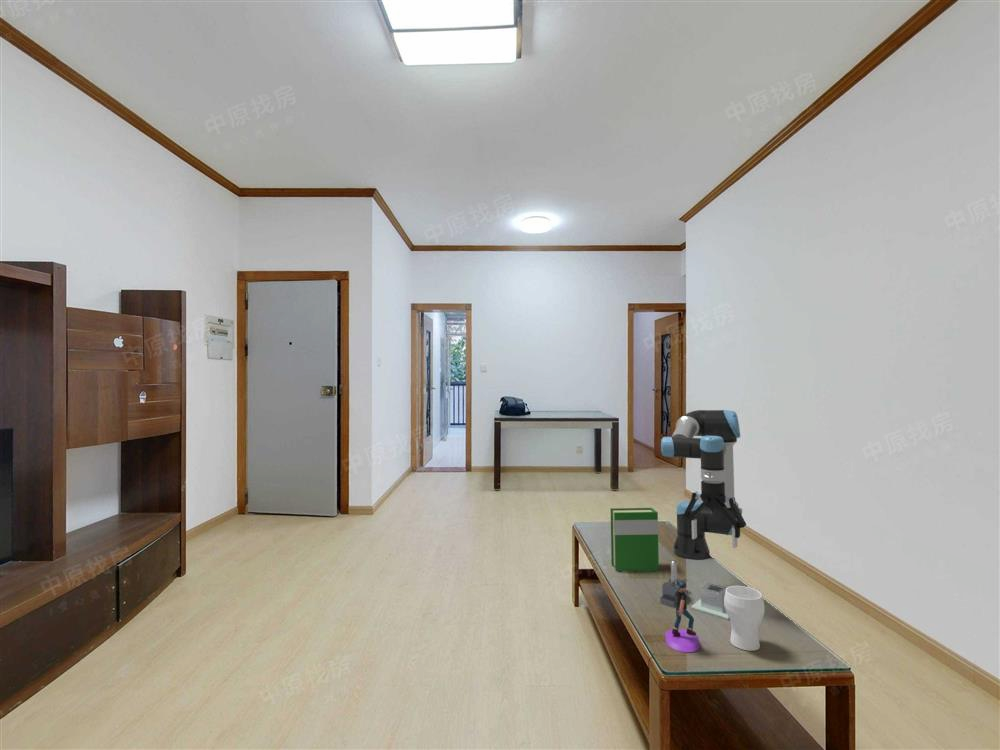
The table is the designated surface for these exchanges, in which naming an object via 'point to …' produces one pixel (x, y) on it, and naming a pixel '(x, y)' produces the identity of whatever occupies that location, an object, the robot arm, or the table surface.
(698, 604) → the mat
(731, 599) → the cup
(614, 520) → the hardback book
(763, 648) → the table surface
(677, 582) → the vise
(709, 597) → the grey hollow block
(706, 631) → the table surface
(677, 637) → the figurine
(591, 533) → the table surface
